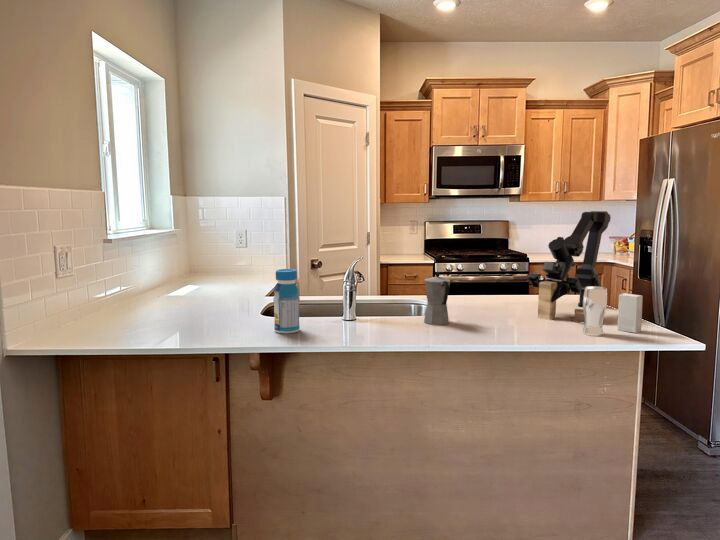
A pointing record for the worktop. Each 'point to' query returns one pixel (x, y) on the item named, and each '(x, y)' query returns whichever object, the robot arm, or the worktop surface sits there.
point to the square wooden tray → (579, 315)
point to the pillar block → (546, 300)
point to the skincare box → (630, 312)
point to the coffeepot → (437, 300)
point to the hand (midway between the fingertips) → (545, 300)
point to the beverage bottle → (286, 302)
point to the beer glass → (594, 309)
